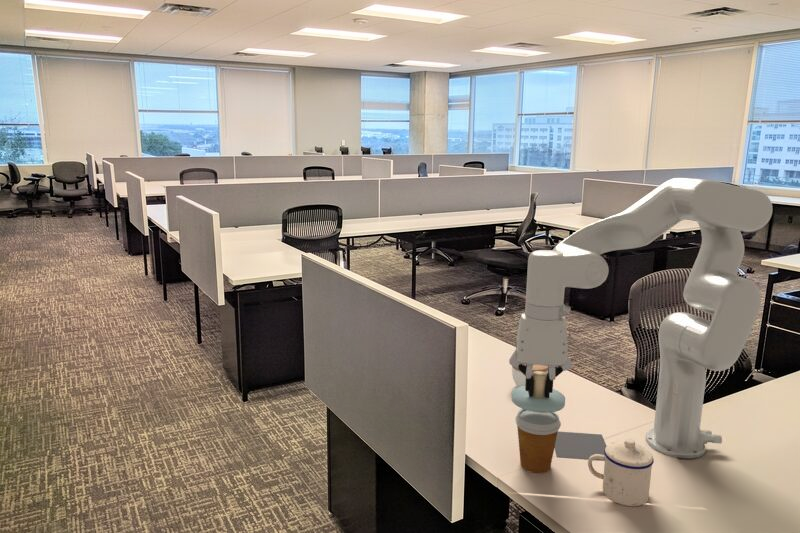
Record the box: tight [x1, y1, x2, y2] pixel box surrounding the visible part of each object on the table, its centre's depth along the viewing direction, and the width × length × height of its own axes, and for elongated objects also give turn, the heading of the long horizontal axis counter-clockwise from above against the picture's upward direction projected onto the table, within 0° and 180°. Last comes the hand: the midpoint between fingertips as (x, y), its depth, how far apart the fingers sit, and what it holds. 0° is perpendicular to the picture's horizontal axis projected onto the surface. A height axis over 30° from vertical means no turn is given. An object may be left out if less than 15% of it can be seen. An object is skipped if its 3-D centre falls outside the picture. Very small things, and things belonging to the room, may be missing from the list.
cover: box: [511, 371, 566, 413], centre depth 121 cm, size 11×11×6 cm
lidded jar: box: [511, 364, 548, 388], centre depth 164 cm, size 11×11×9 cm
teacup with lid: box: [587, 438, 655, 507], centre depth 115 cm, size 12×9×12 cm
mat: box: [554, 431, 607, 462], centre depth 133 cm, size 12×12×1 cm
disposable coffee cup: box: [514, 408, 562, 474], centre depth 124 cm, size 10×10×12 cm
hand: (538, 393), depth 121 cm, fingers closed on cover, 2 cm apart
